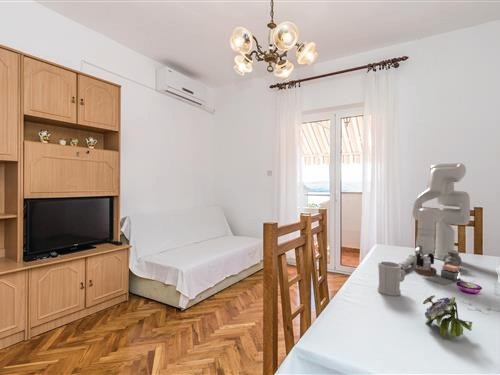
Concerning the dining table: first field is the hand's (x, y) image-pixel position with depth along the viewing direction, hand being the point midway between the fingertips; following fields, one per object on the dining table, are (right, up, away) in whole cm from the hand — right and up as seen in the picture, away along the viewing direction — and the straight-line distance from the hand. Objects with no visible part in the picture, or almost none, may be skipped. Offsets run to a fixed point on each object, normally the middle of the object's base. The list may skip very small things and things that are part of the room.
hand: (425, 264), depth 144 cm
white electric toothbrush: (-5, -5, +8) cm, 11 cm away
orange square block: (+7, -4, -8) cm, 12 cm away
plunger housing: (+7, -5, -8) cm, 12 cm away
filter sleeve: (0, -4, 0) cm, 4 cm away
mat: (0, -5, -11) cm, 12 cm away
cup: (-31, -5, -25) cm, 41 cm away
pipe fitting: (+19, -5, +7) cm, 21 cm away
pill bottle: (0, -5, 0) cm, 5 cm away
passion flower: (-29, -5, -56) cm, 63 cm away
